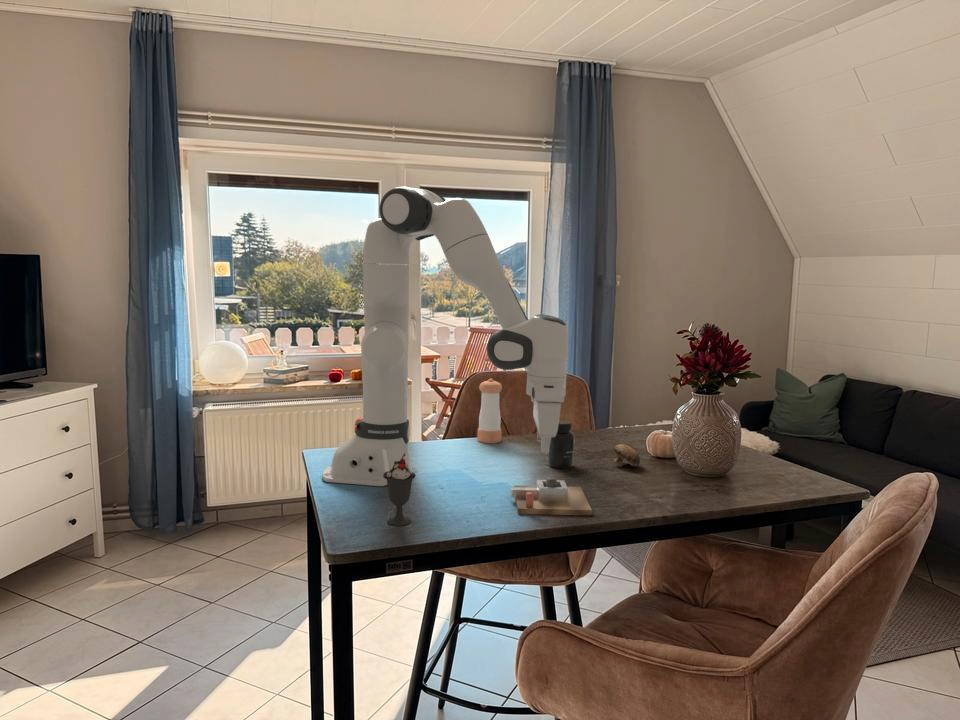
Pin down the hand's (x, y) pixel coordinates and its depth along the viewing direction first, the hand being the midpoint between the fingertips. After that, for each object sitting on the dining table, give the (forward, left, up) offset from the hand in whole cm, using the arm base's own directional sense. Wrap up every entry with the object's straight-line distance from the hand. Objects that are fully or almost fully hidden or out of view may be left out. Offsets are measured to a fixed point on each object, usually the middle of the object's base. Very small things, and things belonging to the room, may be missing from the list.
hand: (542, 447), depth 159 cm
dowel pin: (-3, -8, -11) cm, 14 cm away
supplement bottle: (+8, +28, -13) cm, 32 cm away
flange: (-1, -1, -11) cm, 11 cm away
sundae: (-31, -16, -13) cm, 37 cm away
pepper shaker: (-11, +55, -13) cm, 57 cm away
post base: (+2, -2, -12) cm, 13 cm away
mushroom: (+26, +29, -13) cm, 41 cm away
